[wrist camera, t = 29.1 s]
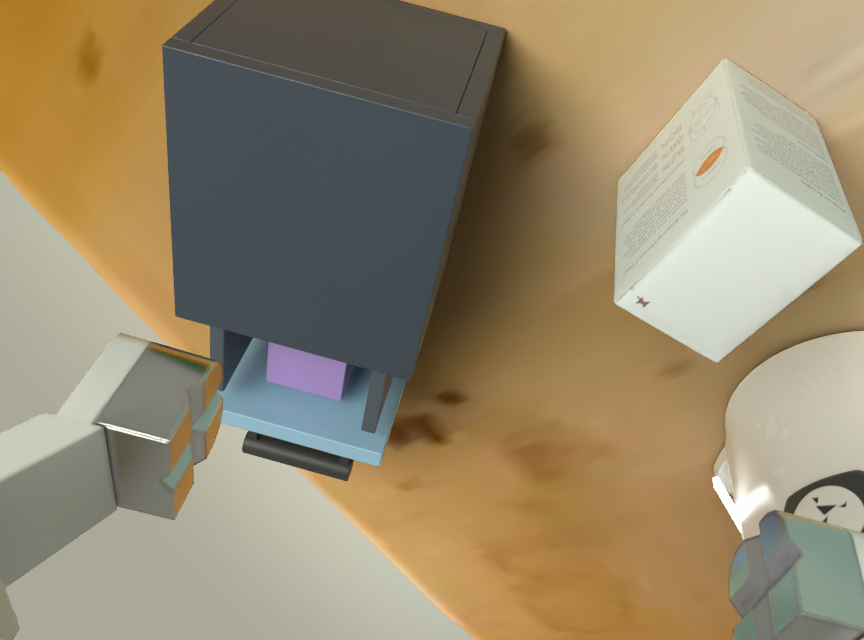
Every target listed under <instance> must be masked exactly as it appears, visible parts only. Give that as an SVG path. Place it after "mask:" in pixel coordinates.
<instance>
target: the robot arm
mask: <svg viewBox="0 0 864 640" xmlns="http://www.w3.org/2000/svg"><path fill="white" fill-rule="evenodd" d="M222 380H223V368H222V363H221V362H219V361H216V360H212V359H209V358H206V357H202V356H199V355H196V354H192V353H189V352H185V351H182V350H179V349H175V348H172V347H169V346H165V345H162V344H158V343H155V342H151V341H147V340H143V339H140V338H136V337H133V336H130V335H126V334H123V333H120V334H119V335H118V336H116V337H114V338H113V339H111V340H110V342H109V343H108V344H107V346H106V347H105V348H104V350H103V351H102V352H101V354H100V355H99V356H98V358H97V359H96V360H95V362H94V363H93V364H92V366H91V367H90V368H89V370H88V371H87V373H86V374H85V375H84V376H83V378H82V379H81V381H80V382H79V383H78V385H77V386H76V387H75V389H74V390H73V391H72V393H71V394H70V395H69V397H68V398H67V400H66V401H65V402H64V404H63V405H62V406H61V408H60V409H59V410H58V412H57V413H56V414H54V413H50V412H44V413H42V414H39V415H37V416H35V417H33V418H31V419H29V420H27V421H25V422H22V423H20V424H18V425H16V426H14V427H12V428H10V429H8V430H5V431H3V432H1V433H0V640H13V639H14V637H15V635H16V634H17V632H18V630H19V625H18V621H17V618H16V615H15V612H14V610H13V608H12V605H11V602H10V600H9V597H8V594H7V592H6V589H5V588H6V587H7V586H8V585H10V584H11V583H13V582H14V581H16V580H17V579H19V578H20V577H21V576H23V575H24V574H26V573H27V572H29V571H30V570H31V569H33V568H34V567H36V566H37V565H39V564H40V563H41V562H43V561H44V560H46V559H47V558H49V557H50V556H51V555H53V554H54V553H56V552H57V551H59V550H60V549H62V548H63V547H64V546H66V545H67V544H69V543H70V542H71V541H73V540H74V539H76V538H77V537H79V536H80V535H81V534H83V533H84V532H86V531H87V530H89V529H90V528H92V527H93V526H94V525H96V524H97V523H99V522H100V521H102V520H103V519H105V518H106V517H107V516H109V515H110V514H112V513H113V512H114V511H116V510H117V506H118V507H122V508H127V509H131V510H135V511H139V512H143V513H147V514H151V515H155V516H159V517H163V518H168V519H171V520H175V518H176V516H177V514H178V512H179V510H180V508H181V507H182V505H183V503H184V501H185V499H186V497H187V495H188V493H189V491H190V489H191V488H192V486H193V484H194V474H193V473H194V472H193V466H194V465H196V464H198V463H200V462H201V461H203V460H205V459H206V458H207V456H208V454H209V452H210V450H211V448H212V446H213V444H214V442H215V439H216V436H217V433H218V430H219V427H220V424H221V418H222V412H223V398H222V397H221V396H220V394H219V393H218V392H217V389H218V387H219V385H220V383H221V381H222ZM725 434H726V442H725V446H724V448H723V449H722V451H721V453H720V454H719V456H718V458H717V460H716V462H715V464H714V467H713V472H714V476H715V477H714V478H713V484H714V488H715V490H716V491H717V493H718V495H719V496H720V498H721V500H722V501H723V503H724V505H725V507H726V508H727V510H728V512H729V513H730V515H731V517H732V518H733V520H734V522H735V523H736V525H737V527H738V529H739V530H740V532H741V534H742V539H743V542H742V544H741V545H740V546H739V548H738V549H737V550H736V552H735V554H734V557H733V560H732V563H731V566H730V569H729V581H728V587H729V599H730V602H731V603H732V605H733V606H734V608H735V609H736V610H737V612H738V613H739V615H740V616H741V619H740V621H739V622H738V623H737V625H736V626H735V627H734V628H733V638H734V640H864V331H853V332H844V333H838V334H832V335H827V336H823V337H819V338H815V339H812V340H809V341H805V342H803V343H800V344H797V345H795V346H792V347H790V348H788V349H785V350H783V351H781V352H779V353H778V354H776V355H774V356H772V357H770V358H769V359H767V360H766V361H764V362H763V363H761V364H760V365H759V366H757V367H756V368H755V369H754V370H752V371H751V372H750V373H749V374H748V375H747V376H746V377H745V378H744V379H743V380H742V381H741V383H740V384H739V385H738V387H737V388H736V389H735V391H734V393H733V394H732V396H731V398H730V400H729V403H728V405H727V409H726V413H725ZM727 492H728V493H730V494H732V495H733V497H734V502H735V505H734V503H733V502H732V500H731V498H730V496H729V495H728V493H727ZM735 506H736V507H735Z"/></svg>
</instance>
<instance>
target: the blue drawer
mask: <svg viewBox="0 0 864 640" xmlns="http://www.w3.org/2000/svg"><path fill="white" fill-rule="evenodd" d="M268 344H269V342H267V341H263V340H260V339H256V338H253V337H249V336H245V335H242V334H238V333H235V332H231V331H227V330H224V329H220V328H216V327H213V326H210V359H212V360H216V361H219V362H221V363H222V368H223V380H222V381H221V383H220V385H219V387H218V389H217V392H218V393H219V394H220V396H221V397H222V398H223V412H222V418H221V423H224V424H227V425H231V426H234V427H238V428H242V429H245V430H249V431H248V432H247V434H246V436H245V439H244V442H243V447H242V451H243V452H244V453H248V454H251V455H255V456H258V457H262V458H265V459H269V460H273V461H276V462H280V463H283V464H287V465H290V466H294V467H298V468H301V469H305V470H308V471H312V472H315V473H319V474H323V475H326V476H330V477H333V478H337V479H340V480H344V481H348V479H349V476H350V473H351V470H352V466H353V462H354V460H356V461H360V462H363V463H367V464H371V465H374V466H378V467H379V466H380V464H381V461H382V458H383V455H384V452H385V448H386V445H387V442H388V439H389V435H390V432H391V429H392V426H393V423H394V419H395V416H396V413H397V410H398V406H399V403H400V400H401V397H402V394H403V390H404V387H405V384H406V381H407V380H405V379H401V378H397V377H394V376H390V375H387V374H383V373H379V372H376V371H372V370H368V369H365V368H361V367H358V366H354V369H353V371H352V374H351V377H350V379H349V382H348V384H347V387H346V389H345V392H344V395H343V397H342V400H341V401H337V400H333V399H329V398H326V397H322V396H319V395H315V394H311V393H308V392H304V391H301V390H297V389H293V388H290V387H286V386H283V385H279V384H275V383H272V382H268V381H266V376H267V360H268Z"/></svg>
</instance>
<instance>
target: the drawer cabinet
mask: <svg viewBox="0 0 864 640" xmlns="http://www.w3.org/2000/svg"><path fill="white" fill-rule="evenodd" d="M505 33H506V29H505V28H501V27H497V26H493V25H490V24H486V23H482V22H478V21H474V20H471V19H467V18H463V17H459V16H456V15H452V14H448V13H444V12H441V11H437V10H433V9H429V8H426V7H422V6H418V5H414V4H410V3H407V2H403V1H399V0H214V1H213V2H212V3H211V4H210V5H208V6H207V7H206V8H205V9H204V10H203V11H202V12H200V13H199V14H198V15H197V16H196V17H195V18H193V19H192V20H191V21H190V22H189V23H188V24H186V25H185V26H184V27H183V28H182V29H181V30H179V31H178V32H177V33H176V34H175V35H174V36H172V38H170V39H169V40H168V41H166V42H165V43H164V44H163V45H162V51H163V71H164V91H165V112H166V132H167V153H168V173H169V193H170V214H171V234H172V254H173V275H174V295H175V315H176V316H177V317H180V318H184V319H187V320H191V321H195V322H198V323H202V324H206V325H209V326H213V327H216V328H220V329H224V330H227V331H231V332H235V333H238V334H242V335H245V336H249V337H253V338H256V339H260V340H263V341H267V342H271V343H274V344H278V345H282V346H285V347H289V348H292V349H296V350H300V351H303V352H307V353H311V354H314V355H318V356H321V357H325V358H329V359H332V360H336V361H339V362H343V363H347V364H350V365H354V366H358V367H361V368H365V369H368V370H372V371H376V372H379V373H383V374H387V375H390V376H394V377H397V378H401V379H405V380H408V381H411V380H412V376H413V373H414V370H415V366H416V363H417V360H418V357H419V353H420V350H421V347H422V343H423V340H424V337H425V334H426V330H427V327H428V324H429V320H430V317H431V314H432V311H433V307H434V304H435V301H436V297H437V294H438V291H439V287H440V284H441V281H442V278H443V274H444V271H445V267H446V264H447V261H448V257H449V253H450V249H451V245H452V242H453V238H454V234H455V230H456V226H457V222H458V218H459V214H460V210H461V206H462V202H463V198H464V194H465V190H466V186H467V183H468V179H469V175H470V171H471V167H472V163H473V159H474V155H475V151H476V147H477V143H478V139H479V135H480V131H481V127H482V124H483V120H484V116H485V112H486V108H487V104H488V100H489V96H490V92H491V88H492V84H493V80H494V76H495V72H496V68H497V64H498V61H499V57H500V53H501V49H502V45H503V41H504V37H505Z"/></svg>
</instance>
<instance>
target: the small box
mask: <svg viewBox="0 0 864 640" xmlns="http://www.w3.org/2000/svg"><path fill="white" fill-rule="evenodd" d="M862 245H863V241H862V238H861V235H860V232H859V230H858V227H857V225H856V222H855V219H854V217H853V214H852V212H851V209H850V207H849V204H848V202H847V199H846V197H845V194H844V191H843V188H842V186H841V183H840V180H839V178H838V175H837V173H836V170H835V168H834V165H833V162H832V160H831V157H830V155H829V152H828V150H827V147H826V144H825V142H824V139H823V137H822V134H821V131H820V129H819V127H818V124H817V122H816V119H815V118H813V117H812V116H811V115H809V114H808V113H806V112H805V111H804V110H802V109H801V108H799V107H798V106H796V105H795V104H793V103H792V102H791V101H789V100H788V99H786V98H785V97H783V96H782V95H780V94H779V93H777V92H776V91H775V90H773V89H772V88H770V87H769V86H767V85H766V84H764V83H763V82H761V81H760V80H758V79H757V78H755V77H754V76H752V75H751V74H750V73H748V72H747V71H745V70H744V69H742V68H741V67H739V66H738V65H736V64H734V63H733V62H731V61H730V60H729V59H727V58H724V59H722V60H721V61H720V63H719V64H718V65H717V66H716V68H715V69H714V70H713V71H712V72H711V73H710V75H709V76H708V77H707V78H706V79H705V81H704V82H703V83H702V84H701V85H700V86H699V88H698V89H697V90H696V91H695V92H694V93H693V95H692V96H691V97H690V98H689V99H688V100H687V101H686V103H685V104H684V105H683V106H682V107H681V108H680V110H679V111H678V112H677V113H676V114H675V115H674V117H673V118H672V119H671V120H670V121H669V122H668V124H667V125H666V126H665V127H664V128H663V129H662V130H661V132H660V133H659V134H658V135H657V136H656V137H655V139H654V140H653V141H652V142H651V143H650V144H649V146H648V147H647V148H646V149H645V150H644V152H643V153H642V154H641V155H640V156H639V157H638V159H637V160H636V161H635V162H634V163H633V164H632V165H631V167H630V168H629V169H628V170H627V171H626V172H625V173H624V175H623V176H622V177H621V178H620V179H619V181H618V191H617V216H616V247H615V278H614V303H615V304H616V305H618V306H620V307H622V308H623V309H625V310H627V311H628V312H630V313H632V314H633V315H635V316H636V317H638V318H640V319H642V320H643V321H645V322H647V323H648V324H650V325H652V326H653V327H655V328H657V329H659V330H660V331H662V332H664V333H665V334H667V335H669V336H671V337H672V338H674V339H676V340H677V341H679V342H681V343H682V344H684V345H686V346H687V347H689V348H691V349H693V350H694V351H696V352H698V353H700V354H701V355H703V356H705V357H707V358H709V359H710V360H712V361H713V362H715V363H719V362H720V361H721V360H722V359H723V358H725V357H726V356H727V355H728V354H730V353H731V352H732V351H733V350H734V349H736V348H737V347H738V346H739V345H741V344H742V343H743V342H744V341H745V340H747V339H748V338H749V337H750V336H751V335H753V334H754V333H755V332H756V331H757V330H759V329H760V328H761V327H762V326H764V325H765V324H766V323H767V322H768V321H770V320H771V319H772V318H773V317H774V316H776V315H777V314H778V313H779V312H780V311H782V310H783V309H784V308H785V307H787V306H788V305H789V304H790V303H792V302H793V301H794V300H795V299H796V298H798V297H799V296H800V295H801V294H802V293H804V292H805V291H806V290H807V289H809V288H810V287H811V286H812V285H813V284H815V283H816V282H817V281H818V280H820V279H821V278H822V277H823V276H825V275H826V274H827V273H828V272H829V271H831V270H832V269H833V268H834V267H836V266H837V265H838V264H839V263H840V262H842V261H843V260H844V259H845V258H847V257H848V256H849V255H850V254H852V253H853V252H854V251H855V250H856V249H858V248H859V247H860V246H862Z"/></svg>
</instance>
